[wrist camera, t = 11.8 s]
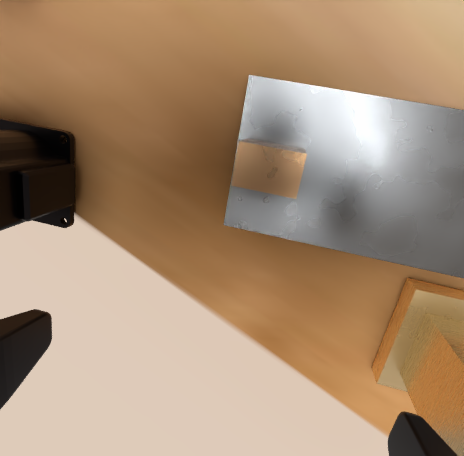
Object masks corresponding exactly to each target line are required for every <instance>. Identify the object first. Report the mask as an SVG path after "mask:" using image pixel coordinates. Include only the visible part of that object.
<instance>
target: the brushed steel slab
mask: <svg viewBox="0 0 464 456" xmlns="http://www.w3.org/2000/svg"><path fill="white" fill-rule="evenodd" d="M224 225H226V226H231V227H235V228H240V229H244V230H249V231H253V232H258V233H262V234H267V235H271V236H276V237H280V238H285V239H289V240H294V241H298V242H303V243H307V244H312V245H316V246H321V247H325V248H330V249H334V250H339V251H343V252H348V253H352V254H357V255H361V256H366V257H370V258H375V259H379V260H384V261H388V262H393V263H397V264H402V265H406V266H411V267H415V268H420V269H424V270H429V271H433V272H438V273H442V274H447V275H451V276H456V277H460V278H464V110H460V109H454V108H448V107H441V106H435V105H429V104H423V103H417V102H411V101H405V100H399V99H393V98H387V97H381V96H375V95H369V94H363V93H357V92H351V91H344V90H338V89H332V88H326V87H320V86H314V85H308V84H302V83H296V82H290V81H284V80H278V79H272V78H266V77H260V76H254V75H249V79H248V85H247V90H246V96H245V102H244V108H243V114H242V120H241V126H240V132H239V137H238V143H237V149H236V155H235V161H234V167H233V173H232V178H231V184H230V190H229V196H228V202H227V208H226V214H225V220H224Z"/></svg>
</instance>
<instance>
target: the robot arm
mask: <svg viewBox="0 0 464 456" xmlns="http://www.w3.org/2000/svg"><path fill="white" fill-rule="evenodd" d="M64 136H65V137H66V140H67V141H66V143H65V141H64ZM74 203H75V168H74V137H73V135H72V134H71V133H70V132H67V131H63V130H58V129H53V128H47V127H42V126H37V125H32V124H27V123H22V122H17V121H12V120H7V119H2V118H0V231H1V230H4V229H6V228H9V227H12V226H15V225H17V224H20V223H23V222H25V221H31V220H33V221H38V222H41V223H46V224H50V225H54V226H58V227H62V228H67V227H69V226H71V225H73V223H74ZM64 218H65V219H66V220H67V222H65V220H64ZM51 339H52V322H51V315H50V314H49V313H48V312H44V311H41V310H36V309H34V310H30V311H27V312H24V313H20V314H17V315H14V316H10V317H7V318H4V319H0V409H1V408H2V407H3V406H4V405H5V403H6V402H7V401H8V400H9V399H10V397H11V396H12V395H13V393H14V392H15V391H16V390H17V388H18V387H19V386H20V384H21V383H22V382H23V380H24V379H25V378H26V376H27V375H28V374H29V372H30V371H31V370H32V369H33V367H34V366H35V365H36V363H37V362H38V360H39V359H40V358H41V357H42V355H43V354H44V353H45V351H46V350H47V349H48V347H49V345H50V343H51ZM388 451H389V456H458V455H457V454H456V453H455V452H454V451H453V450H452V449H451V448H450V446H449V445H448V444H447V443H446V442H445V441H444V440H443V439H442V438H441V437H440V436H439V435H438V434H437V433H436V431H435V430H434V429H433V428H432V427H431V426H430V425H429V424H428V423H427V422H426V421H425V420H424V419H423V418H422V417H421V416H419V415H416V414H412V413H408V412H401V413H400V414H399V415H398V417H397V419H396V422H395V424H394V426H393V428H392V430H391V432H390V434H389V438H388Z"/></svg>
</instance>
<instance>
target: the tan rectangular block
mask: <svg viewBox="0 0 464 456" xmlns="http://www.w3.org/2000/svg"><path fill="white" fill-rule="evenodd" d="M372 370H373V373H374V376H375V379H376V382H377V384H380V385H384V386H388V387H392V388H395V389H399V390H403V391H407V392H408V393H409V396H410V398H411V400H412V403H413V405H414V407H415V410H416V412H417V414H418V415H419V416H421V417H422V418H423V419H424V420H425V421H426V422H427V423H428V424H429V425H430V426H431V427H432V428H433V429H434V430H435V431H436V433H437V434H438V435H439V436H440V437H441V438H442V439H443V440H444V441H445V442H446V443H447V444H448V445H449V446H450V448H451V449H452V450H453V451H454V452H455V453H456V454H457V455H458V456H464V291H463V290H459V289H454V288H450V287H445V286H441V285H437V284H432V283H428V282H423V281H419V280H415V279H410V278H407V280H406V283H405V285H404V288H403V290H402V293H401V295H400V298H399V300H398V303H397V305H396V308H395V310H394V313H393V315H392V318H391V320H390V322H389V325H388V327H387V330H386V332H385V335H384V337H383V340H382V342H381V345H380V347H379V350H378V352H377V355H376V357H375V360H374V362H373V365H372Z"/></svg>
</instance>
